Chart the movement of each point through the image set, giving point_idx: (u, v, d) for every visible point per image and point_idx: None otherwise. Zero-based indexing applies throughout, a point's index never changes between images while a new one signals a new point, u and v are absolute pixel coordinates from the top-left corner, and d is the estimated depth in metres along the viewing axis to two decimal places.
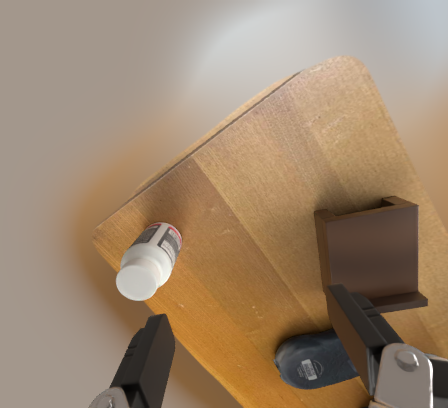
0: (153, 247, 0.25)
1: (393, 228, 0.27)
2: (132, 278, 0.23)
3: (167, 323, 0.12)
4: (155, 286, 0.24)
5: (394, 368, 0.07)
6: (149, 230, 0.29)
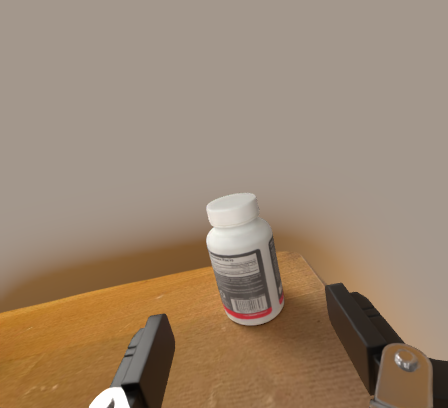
0: (259, 239, 0.18)
1: None
2: (239, 199, 0.19)
3: (167, 323, 0.12)
4: (214, 209, 0.18)
5: (394, 368, 0.07)
6: (279, 276, 0.20)
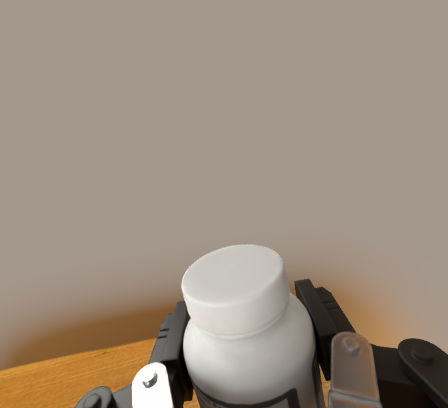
0: (294, 366, 0.08)
1: None
2: (248, 265, 0.09)
3: None
4: (196, 297, 0.08)
5: (343, 356, 0.08)
6: None
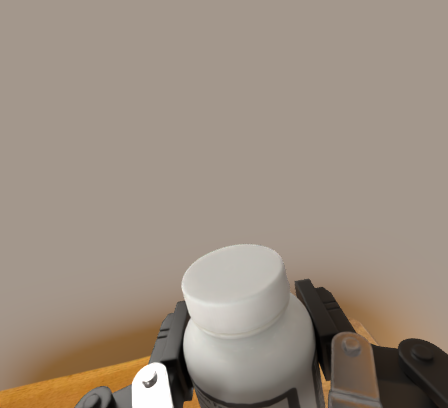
0: (294, 366, 0.08)
1: None
2: (248, 265, 0.09)
3: None
4: (196, 297, 0.08)
5: (343, 356, 0.08)
6: None
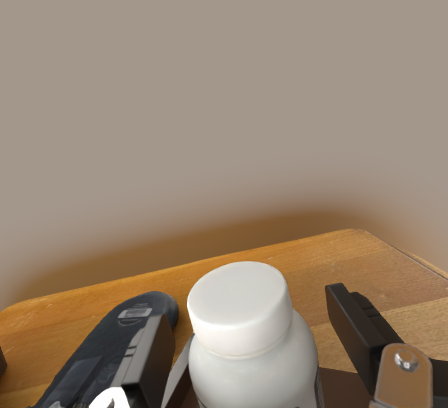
0: (298, 386, 0.08)
1: None
2: (252, 285, 0.10)
3: (167, 323, 0.12)
4: (202, 318, 0.08)
5: (394, 368, 0.07)
6: None
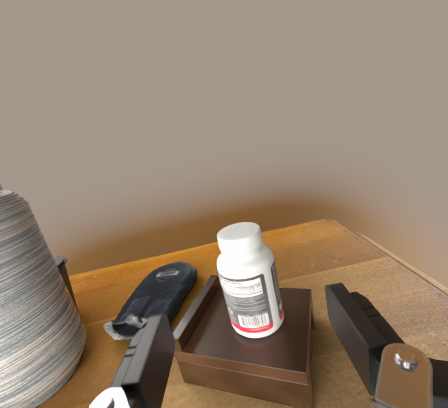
0: (262, 265, 0.21)
1: (281, 340, 0.22)
2: (245, 229, 0.22)
3: (167, 323, 0.12)
4: (224, 239, 0.21)
5: (394, 368, 0.07)
6: (279, 295, 0.23)
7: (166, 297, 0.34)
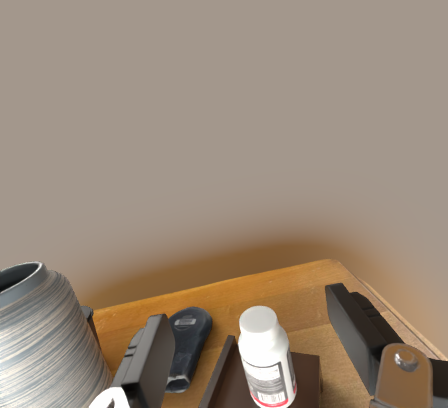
0: (280, 354, 0.24)
1: None
2: (264, 318, 0.25)
3: (167, 323, 0.12)
4: (247, 331, 0.24)
5: (394, 368, 0.07)
6: (293, 372, 0.26)
7: (186, 351, 0.37)
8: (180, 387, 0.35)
